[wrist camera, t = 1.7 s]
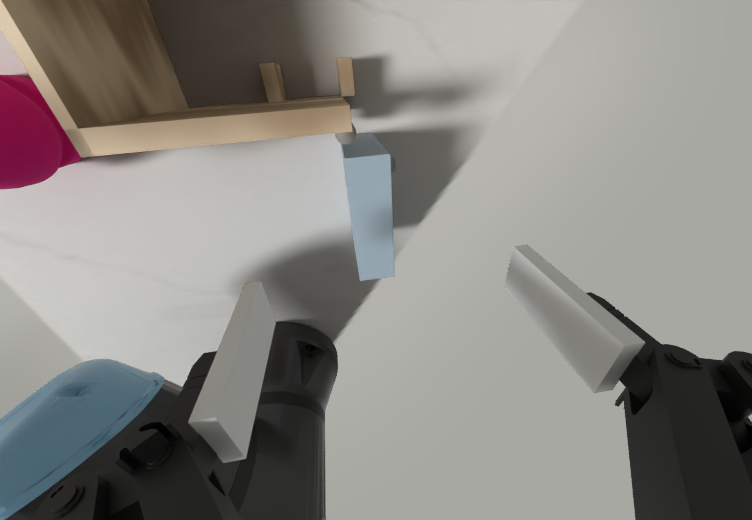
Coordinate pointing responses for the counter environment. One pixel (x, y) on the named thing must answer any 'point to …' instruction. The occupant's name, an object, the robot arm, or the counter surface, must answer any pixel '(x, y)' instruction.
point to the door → (370, 205)
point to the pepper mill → (29, 135)
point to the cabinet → (147, 83)
